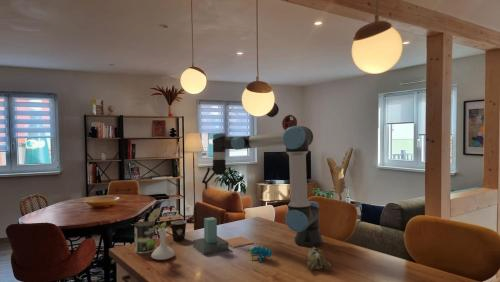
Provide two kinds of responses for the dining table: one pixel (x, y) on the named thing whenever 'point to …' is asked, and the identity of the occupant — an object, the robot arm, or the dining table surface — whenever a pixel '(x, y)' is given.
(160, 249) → the flower in vase
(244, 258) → the dining table surface
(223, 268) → the dining table surface
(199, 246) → the socket block
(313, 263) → the ceramic sculpture
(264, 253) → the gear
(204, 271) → the dining table surface
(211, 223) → the peg
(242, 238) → the mat
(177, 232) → the coffee mug
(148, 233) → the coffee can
